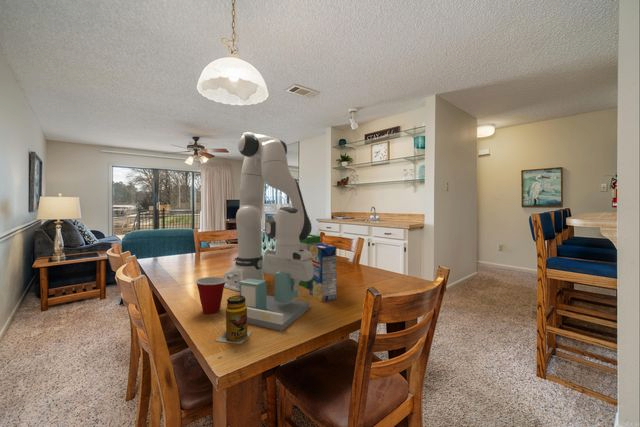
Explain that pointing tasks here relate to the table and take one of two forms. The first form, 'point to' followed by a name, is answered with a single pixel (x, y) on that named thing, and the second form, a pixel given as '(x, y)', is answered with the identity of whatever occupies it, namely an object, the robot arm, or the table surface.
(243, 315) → the condiment
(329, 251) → the beverage box
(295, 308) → the shelf board
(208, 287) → the plastic cup
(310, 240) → the hardback book
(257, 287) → the carton
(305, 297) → the table surface
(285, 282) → the carton
